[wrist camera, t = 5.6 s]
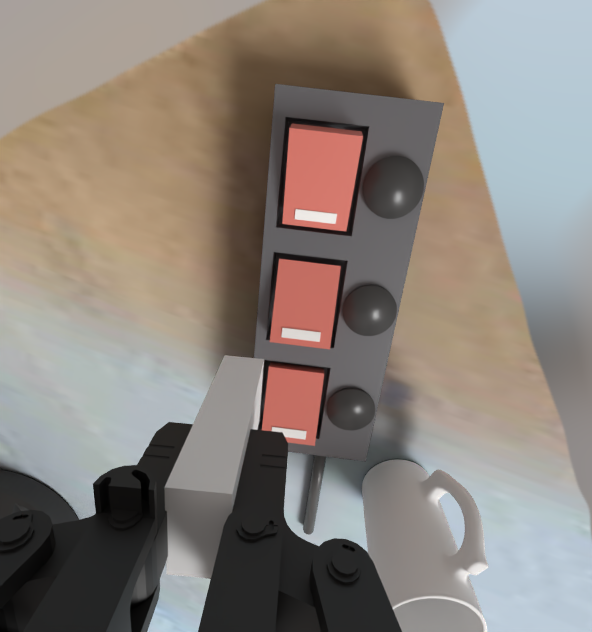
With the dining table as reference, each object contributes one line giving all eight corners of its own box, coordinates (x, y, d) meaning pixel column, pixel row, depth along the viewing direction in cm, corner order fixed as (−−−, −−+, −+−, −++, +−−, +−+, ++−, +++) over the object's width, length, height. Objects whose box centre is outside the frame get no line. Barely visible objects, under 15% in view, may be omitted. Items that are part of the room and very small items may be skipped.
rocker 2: (271, 338, 26) (269, 342, 24) (280, 259, 25) (279, 258, 24) (328, 345, 26) (329, 349, 24) (339, 266, 25) (340, 266, 24)
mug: (402, 524, 37) (438, 678, 26) (344, 492, 36) (355, 639, 25) (474, 453, 34) (551, 596, 23) (412, 417, 33) (459, 547, 22)
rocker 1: (284, 215, 24) (282, 224, 23) (292, 123, 21) (289, 128, 20) (345, 222, 24) (346, 231, 23) (361, 131, 21) (363, 136, 20)
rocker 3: (262, 430, 29) (260, 439, 27) (270, 361, 28) (268, 367, 26) (314, 437, 29) (314, 446, 27) (323, 368, 28) (324, 373, 26)
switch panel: (246, 519, 38) (237, 564, 34) (282, 97, 25) (274, 82, 20) (338, 531, 38) (340, 578, 34) (424, 113, 25) (445, 102, 20)
